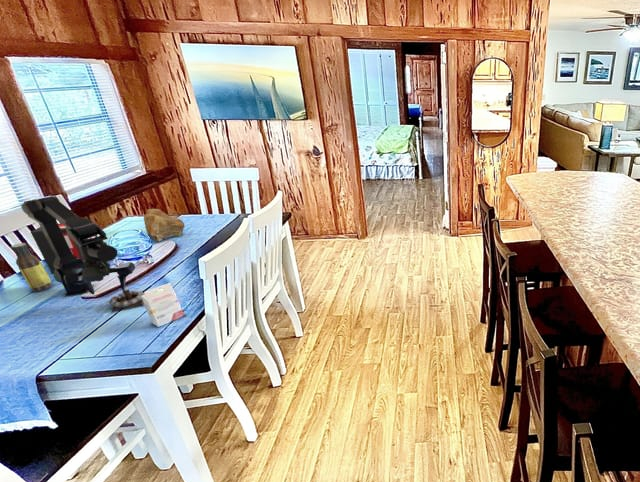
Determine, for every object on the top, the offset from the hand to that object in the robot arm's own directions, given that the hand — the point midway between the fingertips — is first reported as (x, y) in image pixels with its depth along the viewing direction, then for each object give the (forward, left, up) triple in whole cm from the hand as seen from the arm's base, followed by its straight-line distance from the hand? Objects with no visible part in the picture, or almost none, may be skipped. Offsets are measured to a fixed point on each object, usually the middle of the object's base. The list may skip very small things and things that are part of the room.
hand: (108, 291), depth 148 cm
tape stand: (+5, 0, -6) cm, 8 cm away
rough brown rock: (+6, +73, -6) cm, 73 cm away
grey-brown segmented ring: (+4, 0, -4) cm, 6 cm away
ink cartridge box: (+20, -20, -7) cm, 29 cm away
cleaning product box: (-23, +47, -6) cm, 53 cm away
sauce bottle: (-30, +29, -7) cm, 42 cm away
